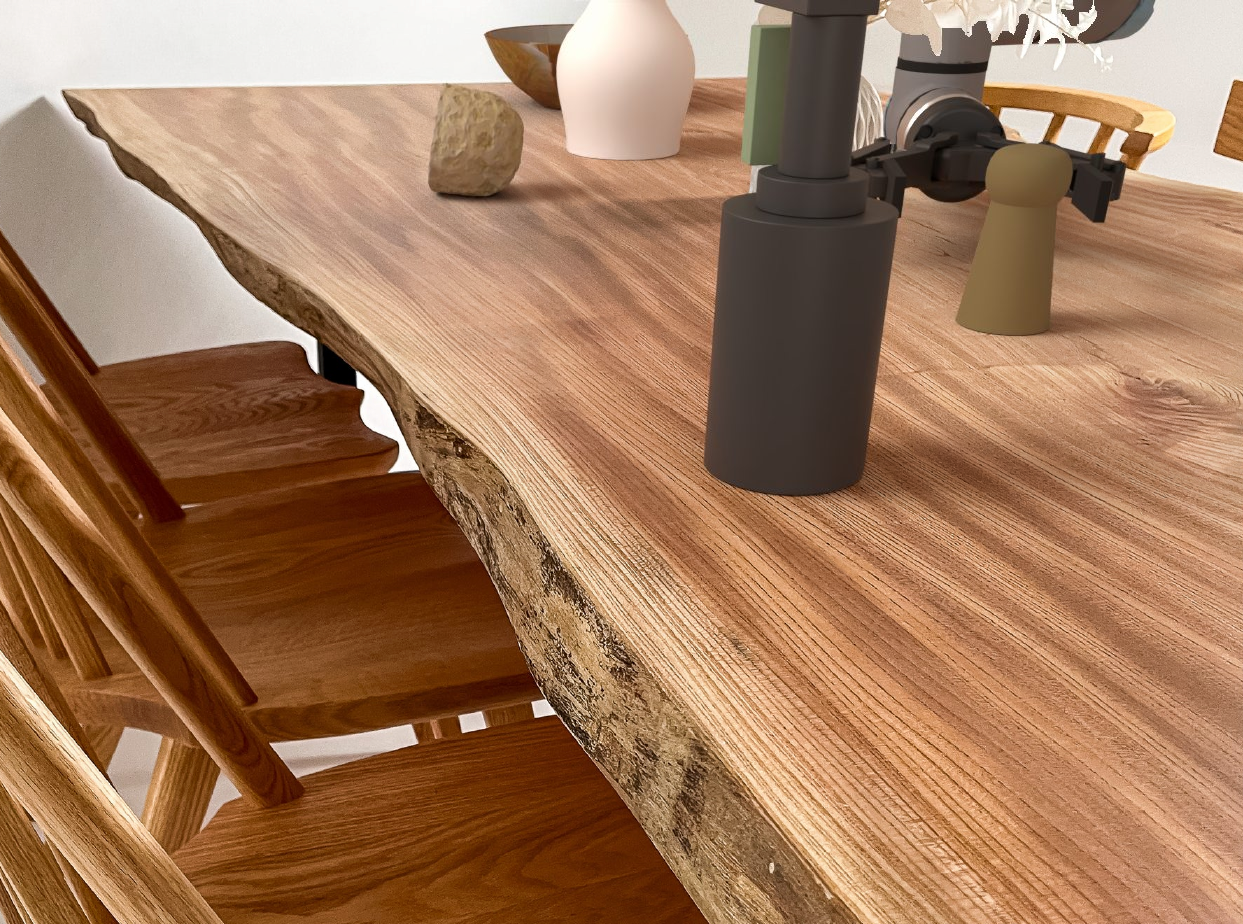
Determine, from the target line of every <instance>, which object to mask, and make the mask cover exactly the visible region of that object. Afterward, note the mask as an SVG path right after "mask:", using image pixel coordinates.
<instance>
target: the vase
mask: <svg viewBox="0 0 1243 924" xmlns="http://www.w3.org/2000/svg"><path fill="white" fill-rule="evenodd" d="M573 24H574V26H573V27H572V28H571V30H570V31H569V32H568V34H567V35H566V37H565V39H564V41H563V43H562V45H561V48H560V51H559V54H558V60H557V87H558V93H559V99H560V104H561V109H560V110H561V114H562V117H563V122H564V123H563V124H564V131H565V132H564V133H565V150H566V151H567V152H568V153H569V154H572V155H575V156H578V157H583V158H591V159H598V160H614V161H615V160H616V161H642V160H643V161H644V160H653V159H663V158H667V157H671V156H675V155H677V154H678V153H679V152H680V150H681V138H682V133H683V128H684V124H685V119H686V116H687V112H688V109H689V105H690V102H691V98H692V94H693V90H694V83H695V76H696V59H695V53H694V49H693V45H692V44H691V43H692V42H690V39H689V35H688V34H687V32H685V30H684V28H683V27H682V25H681V24H680V23H679V21H678V20H677V18H676V17H675V16H674V14H673V13H672V11H671V9H670V7H669V5H668V4H667V1H666V0H590V1H589V3H588V4H587V7H586V8H585V9H584V11H583V13H582V14H581V15H580V16H579V18H578V19H577V20H576V22H575V23H573ZM687 35H688V36H687Z"/></svg>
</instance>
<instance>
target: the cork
mask: <svg viewBox="0 0 1243 924" xmlns="http://www.w3.org/2000/svg"><path fill="white" fill-rule="evenodd" d="M1072 175H1073V169H1072V161H1071V158H1070V156H1069V154H1068V153H1066V152H1065V151H1064V150H1062V149H1059V148H1056V147H1053V146H1049V145H1044V144H1038V143H1036V142H1035V143H1034V142H1033V143H1031V142H1027V143H1026V142H1025V143H1024V144H1015V145H1010V146H1005V147H1003V148H1001V149H999V150H997V151H996V152H995V154H994V155H993V156H992V158H991V160H990V162H989V164H988V167H987V171H986V178H985V182H986V190H985V191H986V192H987V194H988V196H989V198H990V201H989V202H990V203H989V205H988V208H987V212H986V215H985V218H984V222H983V226H982V229H981V232H980V236H979V239H978V241H977V242H978V243H977V245H976V248H975V252H974V255H973V259H972V262H971V265H970V266H971V267H970V269H969V272H968V276H967V279H966V283H965V286H964V289H963V293H962V297H961V299H960V303H959V306H958V310H957V313H956V316H955V321H956V322H957V324H958V325H960V326H962V327H965V328H967V329H970V330H973V331H977V332H982V333H987V334H993V335H1003V336H1027V335H1028V336H1029V335H1037V334H1040V333H1044V332H1046V331H1048V330H1049V329H1050V326H1051V325H1050V324H1051V323H1050V322H1051V309H1052V294H1053V293H1052V291H1053V276H1054V275H1053V274H1054V261H1055V246H1056V229H1057V228H1056V227H1057V214H1058V213H1057V212H1058V204H1059V203H1060V202H1061V201H1062V199H1063V198H1065V197H1064V196H1065V195H1066V193H1067V191H1068V189H1069V187H1070V184H1071V179H1072Z"/></svg>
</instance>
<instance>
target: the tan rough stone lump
mask: <svg viewBox="0 0 1243 924" xmlns="http://www.w3.org/2000/svg"><path fill="white" fill-rule="evenodd" d="M437 101H438V102H437V108H436V115H435V117H434V120H435V123H434V127H433V133H432V138H431V139H432V140H431V145H430V150H429V151H430V152H429V161H428V169H427V170H428V171H427V184H428V186H429V189H430V190H431V191H432V192H434V193H443V194H450V195H458V196H459V195H460V196H468V197H469V196H470V197H488V196H491V195H494V194H496V193H499V192H502V191H504V190H505V189H506V188H507V187H508V186H510V183H511V182H512V180H513V179H515V177H516V173H517V172H518V171H519V168H520V165H521V164H522V153H523V147H524V133H525V124H524V121H523V119H522V116H521V115H520V114H519V112H518V111H517V110H515V109H514V108H512V105H511V104H510V102H508V101H506V100H505V99H504V97H502V96H500V95H498V94H496V93H493V92H491V91H487V90H479V89H477V88H468V87H464V86H462V85H457V84H450V83H448V82H445V83H442V87H441V90H439V96H438V100H437Z"/></svg>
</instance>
